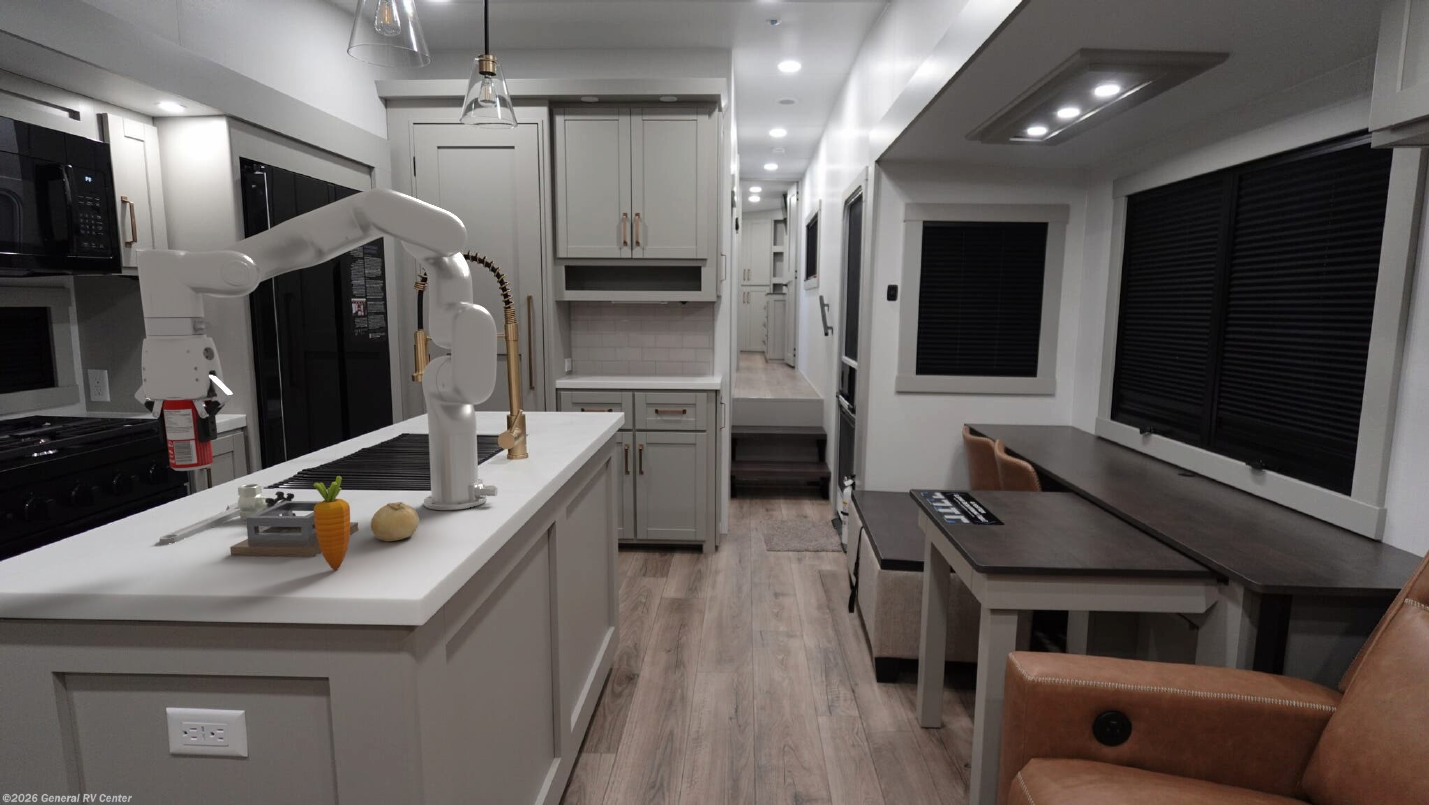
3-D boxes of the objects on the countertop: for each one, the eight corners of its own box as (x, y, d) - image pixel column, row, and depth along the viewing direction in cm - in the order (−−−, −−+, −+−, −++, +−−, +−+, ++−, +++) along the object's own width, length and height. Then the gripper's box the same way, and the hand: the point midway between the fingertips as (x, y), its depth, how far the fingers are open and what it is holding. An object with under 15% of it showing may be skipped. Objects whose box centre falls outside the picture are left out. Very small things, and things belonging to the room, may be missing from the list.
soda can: (210, 461, 115) (202, 391, 113) (215, 467, 111) (207, 394, 109) (169, 467, 111) (160, 394, 109) (172, 473, 107) (163, 397, 105)
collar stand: (358, 530, 127) (356, 499, 126) (314, 556, 113) (311, 521, 113) (284, 529, 127) (281, 498, 127) (230, 555, 113) (227, 520, 113)
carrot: (315, 578, 104) (309, 482, 102) (319, 567, 109) (313, 475, 107) (352, 573, 106) (346, 479, 104) (354, 562, 111) (349, 473, 109)
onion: (361, 542, 121) (358, 503, 120) (394, 529, 128) (392, 492, 127) (397, 547, 118) (395, 508, 117) (429, 533, 126) (427, 496, 125)
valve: (228, 521, 132) (266, 530, 127) (225, 488, 132) (263, 496, 126) (262, 512, 138) (300, 520, 133) (260, 481, 137) (298, 487, 132)
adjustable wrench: (171, 547, 119) (170, 538, 118) (137, 546, 119) (136, 536, 119) (275, 506, 143) (275, 498, 143) (247, 505, 144) (246, 497, 144)
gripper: (246, 328, 111) (257, 436, 114) (142, 328, 112) (155, 436, 114) (212, 329, 104) (225, 445, 107) (101, 330, 104) (116, 446, 107)
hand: (189, 439), depth 110 cm, fingers closed on soda can, 5 cm apart
